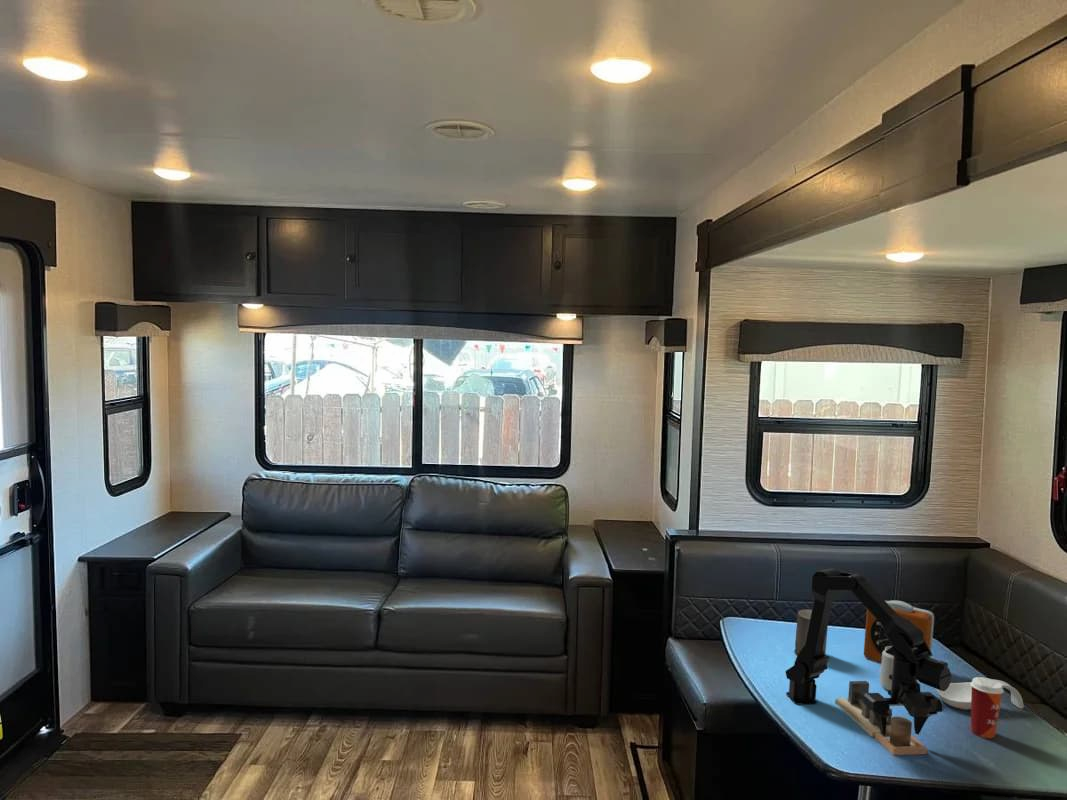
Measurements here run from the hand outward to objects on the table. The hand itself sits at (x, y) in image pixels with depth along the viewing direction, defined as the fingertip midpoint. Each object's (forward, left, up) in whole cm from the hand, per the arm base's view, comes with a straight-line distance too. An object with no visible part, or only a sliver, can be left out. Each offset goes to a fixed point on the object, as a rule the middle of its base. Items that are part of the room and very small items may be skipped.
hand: (899, 734), depth 200 cm
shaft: (0, +14, -1) cm, 14 cm away
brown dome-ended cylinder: (0, 0, -2) cm, 3 cm away
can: (+18, +32, -3) cm, 37 cm away
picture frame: (0, 0, -3) cm, 3 cm away
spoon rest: (+37, +21, -3) cm, 43 cm away
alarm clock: (+30, +50, -3) cm, 58 cm away
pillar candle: (+4, +57, -3) cm, 57 cm away
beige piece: (0, +14, -3) cm, 14 cm away
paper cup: (+27, +5, -3) cm, 28 cm away
